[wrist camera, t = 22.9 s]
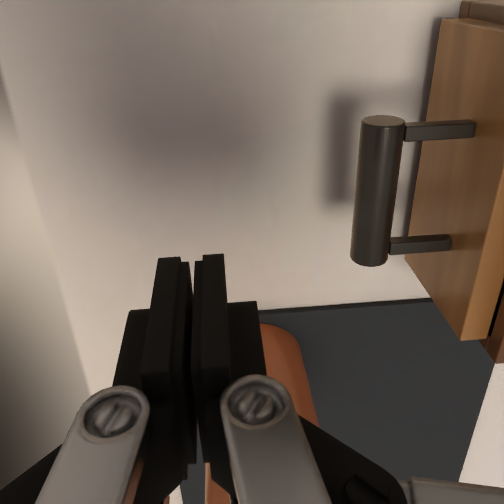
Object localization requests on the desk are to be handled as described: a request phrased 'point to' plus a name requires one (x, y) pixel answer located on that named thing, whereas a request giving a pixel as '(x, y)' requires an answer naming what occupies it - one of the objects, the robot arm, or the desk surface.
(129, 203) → the desk surface
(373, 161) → the drawer
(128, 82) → the desk surface
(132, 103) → the desk surface
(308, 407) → the pen holder
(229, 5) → the desk surface
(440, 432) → the desk mat
